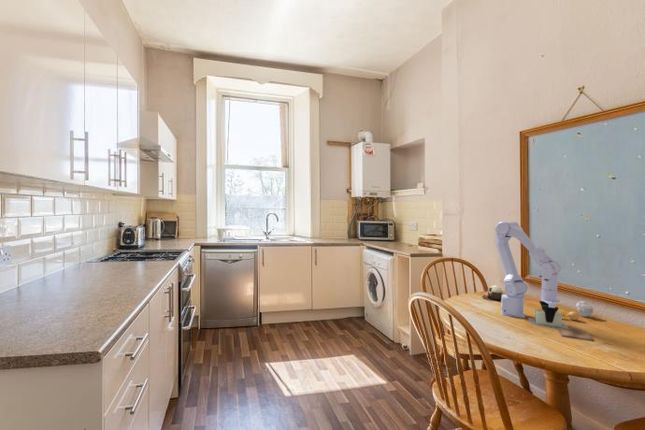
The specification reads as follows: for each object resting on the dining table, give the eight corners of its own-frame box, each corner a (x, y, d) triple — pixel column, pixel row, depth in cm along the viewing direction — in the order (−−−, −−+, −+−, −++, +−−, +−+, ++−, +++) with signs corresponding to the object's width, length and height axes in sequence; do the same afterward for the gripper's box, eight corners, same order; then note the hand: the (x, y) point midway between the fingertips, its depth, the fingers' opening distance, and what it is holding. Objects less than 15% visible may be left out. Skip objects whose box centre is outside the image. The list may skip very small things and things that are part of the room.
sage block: (536, 323, 148) (537, 312, 148) (534, 320, 153) (535, 308, 153) (561, 327, 144) (562, 315, 144) (558, 323, 149) (559, 311, 149)
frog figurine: (581, 314, 166) (581, 299, 165) (596, 318, 159) (597, 303, 159) (572, 314, 164) (572, 300, 164) (587, 319, 157) (587, 304, 157)
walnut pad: (561, 336, 133) (561, 334, 133) (556, 328, 142) (556, 327, 142) (593, 341, 129) (593, 339, 129) (585, 333, 138) (585, 331, 138)
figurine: (583, 315, 150) (552, 306, 154) (579, 328, 150) (548, 318, 154) (576, 311, 158) (547, 302, 162) (573, 323, 158) (543, 314, 162)
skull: (476, 294, 196) (488, 281, 196) (489, 306, 196) (501, 293, 196) (487, 298, 184) (500, 285, 184) (500, 312, 184) (513, 298, 184)
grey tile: (530, 324, 147) (530, 324, 147) (527, 318, 156) (527, 317, 156) (570, 330, 141) (570, 329, 141) (564, 323, 150) (564, 322, 150)
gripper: (564, 293, 140) (562, 326, 140) (556, 286, 153) (555, 317, 154) (543, 291, 143) (542, 323, 143) (538, 285, 156) (537, 314, 157)
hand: (547, 320), depth 149 cm, fingers closed on sage block, 5 cm apart
